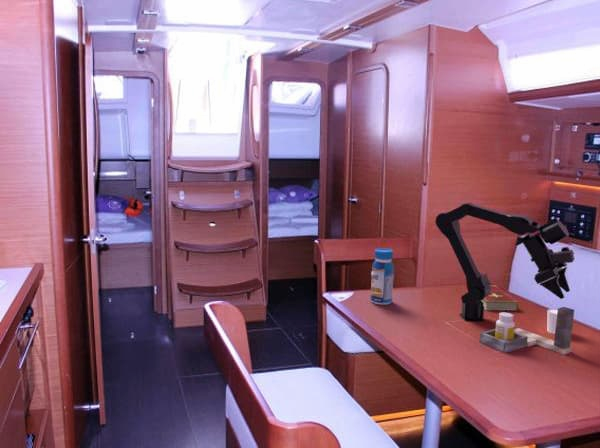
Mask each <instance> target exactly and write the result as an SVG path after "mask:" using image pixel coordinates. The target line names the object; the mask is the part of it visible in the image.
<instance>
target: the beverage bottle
mask: <svg viewBox="0 0 600 448" xmlns="http://www.w3.org/2000/svg"><path fill="white" fill-rule="evenodd" d="M393 257H394V251H393V249H390V248H385V247H383V248H382V247H380V248H379V247H378V248H376V249H374V259H375V260H374V261H373V262H372V265H371V269H372V271H371V273H370V276H371V284H370V285H371V287H370V302H371V303H373V304H376V305H382V306H384V305H390V304H391V303H393V285H394V278H395V274H394V270H395V266H394V264H393V262H392V261H393Z"/></svg>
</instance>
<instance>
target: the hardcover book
mask: <svg viewBox="0 0 600 448" xmlns="http://www.w3.org/2000/svg"><path fill="white" fill-rule="evenodd" d="M490 286H491V291H490V293H489V295H487V296H486V297H485V298H484V299H483V300H482V302H483V306H484V311H485V310H486V311H505V310H507V311H519V302H518V301H517V300H516V299H514V298H513V297H512V296H511V295H509V294H508V293H507V292H505V291H504V290H503V289H501V288H500V287H498V286H497V285H492V284H491V285H490Z"/></svg>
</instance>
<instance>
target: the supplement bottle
mask: <svg viewBox="0 0 600 448" xmlns="http://www.w3.org/2000/svg"><path fill="white" fill-rule="evenodd" d="M498 318H499V319H497V320H496V322H495V329H496V331H495V337H496V338H499V339H501V340H504V341H509V340H513V339H514V332H515V329H516V328H515V327H516V323H515V322H514V314H512V313H510V312H503V311H502V312H499V315H498Z"/></svg>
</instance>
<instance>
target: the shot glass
mask: <svg viewBox="0 0 600 448" xmlns="http://www.w3.org/2000/svg"><path fill="white" fill-rule="evenodd" d="M557 312H558V308H549V309H547V314H546V315H547V316H546V317H547V319H546V320H547V321H546V322H547V323H546V327H547V328H546V330H547V332H548V333H550V334H553V335H555V330H556V321H557Z"/></svg>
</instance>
